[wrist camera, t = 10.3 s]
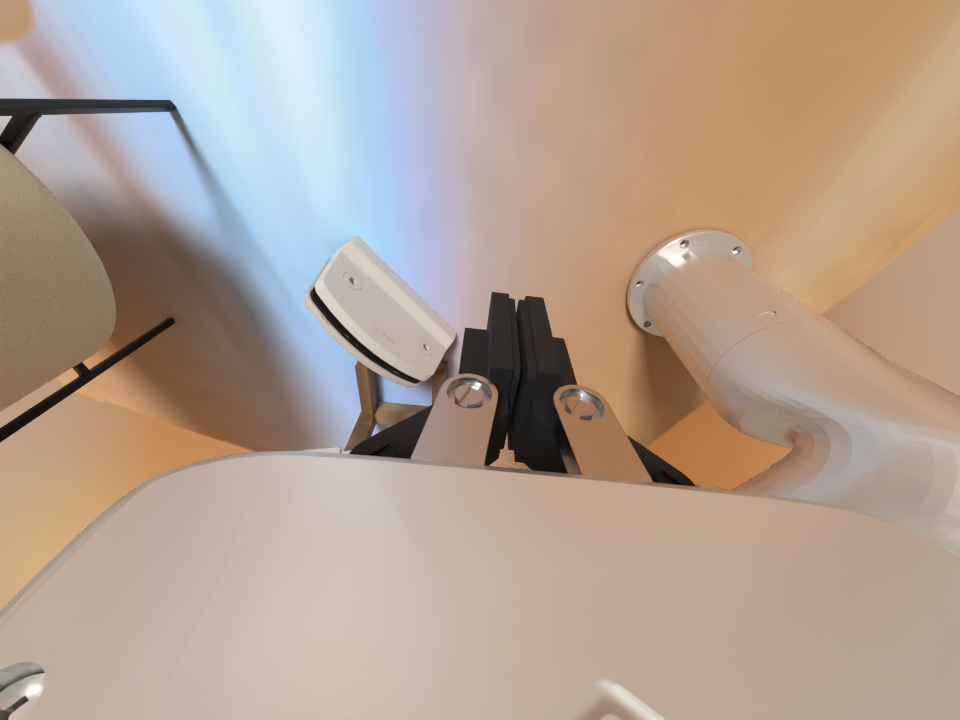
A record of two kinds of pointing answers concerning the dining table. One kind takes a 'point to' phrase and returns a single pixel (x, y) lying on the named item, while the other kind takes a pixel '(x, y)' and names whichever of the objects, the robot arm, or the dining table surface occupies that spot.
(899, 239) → the dining table surface
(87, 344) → the planter
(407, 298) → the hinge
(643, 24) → the dining table surface
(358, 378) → the brown wooden frame
